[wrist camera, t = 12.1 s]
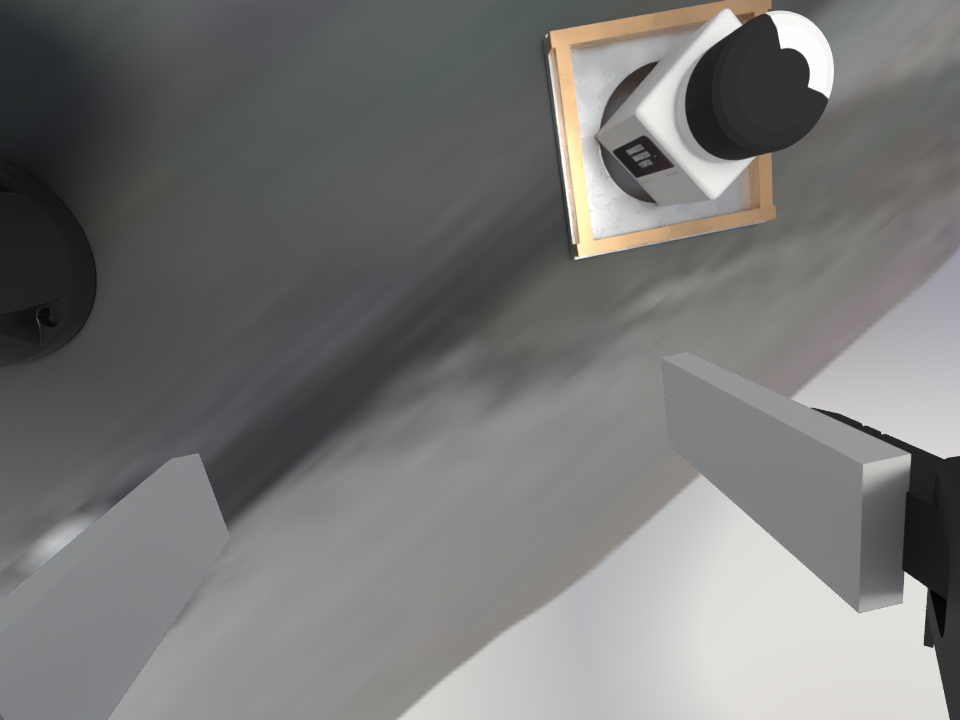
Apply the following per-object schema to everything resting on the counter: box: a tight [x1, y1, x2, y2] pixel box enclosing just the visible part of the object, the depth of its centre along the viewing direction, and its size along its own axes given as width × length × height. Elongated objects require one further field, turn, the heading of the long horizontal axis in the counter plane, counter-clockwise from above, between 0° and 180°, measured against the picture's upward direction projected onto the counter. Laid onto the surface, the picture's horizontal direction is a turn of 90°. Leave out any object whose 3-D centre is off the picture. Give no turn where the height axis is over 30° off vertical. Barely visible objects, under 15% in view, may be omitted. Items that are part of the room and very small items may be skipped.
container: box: [597, 9, 834, 207], centre depth 30 cm, size 8×8×13 cm
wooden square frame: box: [542, 0, 776, 260], centre depth 36 cm, size 16×16×2 cm
